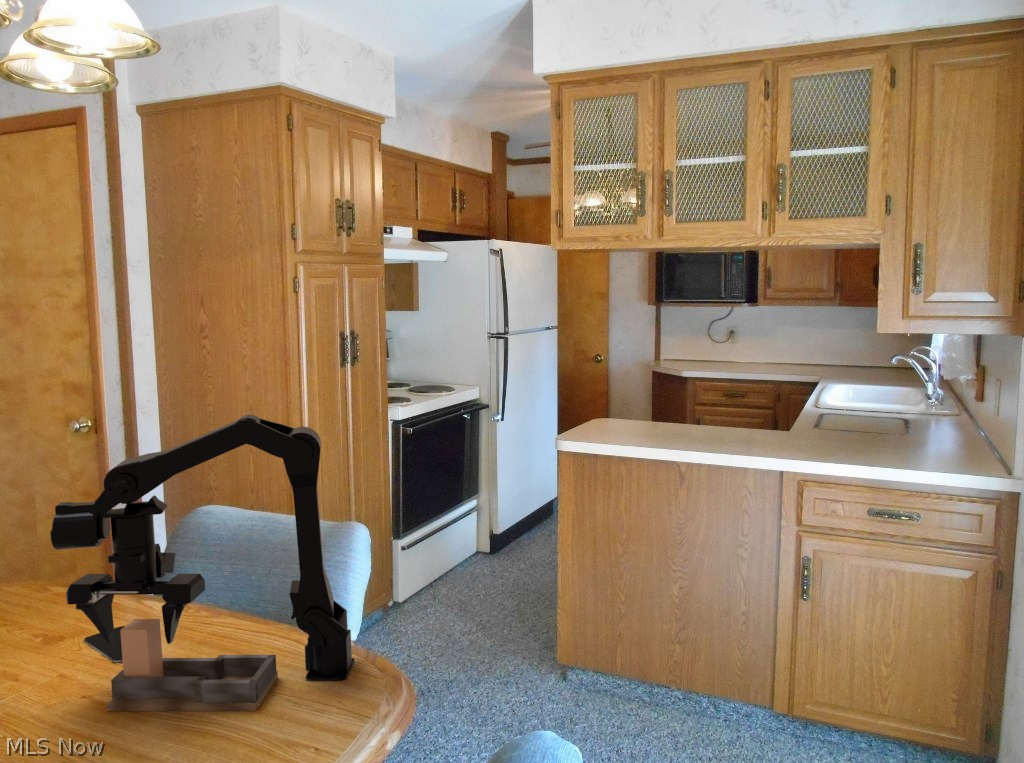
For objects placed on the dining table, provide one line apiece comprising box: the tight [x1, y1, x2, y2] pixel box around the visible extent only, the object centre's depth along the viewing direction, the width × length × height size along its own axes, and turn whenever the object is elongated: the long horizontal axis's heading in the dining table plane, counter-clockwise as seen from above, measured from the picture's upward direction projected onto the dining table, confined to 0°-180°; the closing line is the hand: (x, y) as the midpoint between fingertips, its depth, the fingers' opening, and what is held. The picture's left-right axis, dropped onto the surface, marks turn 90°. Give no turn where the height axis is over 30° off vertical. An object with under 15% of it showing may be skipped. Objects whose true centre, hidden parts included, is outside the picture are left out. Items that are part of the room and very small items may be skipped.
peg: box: [120, 618, 164, 677], centre depth 116 cm, size 4×4×10 cm
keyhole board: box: [106, 654, 279, 712], centre depth 116 cm, size 22×10×4 cm, turn 89°
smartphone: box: [83, 625, 126, 664], centre depth 134 cm, size 8×1×15 cm
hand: (140, 642), depth 116 cm, fingers open, 9 cm apart
